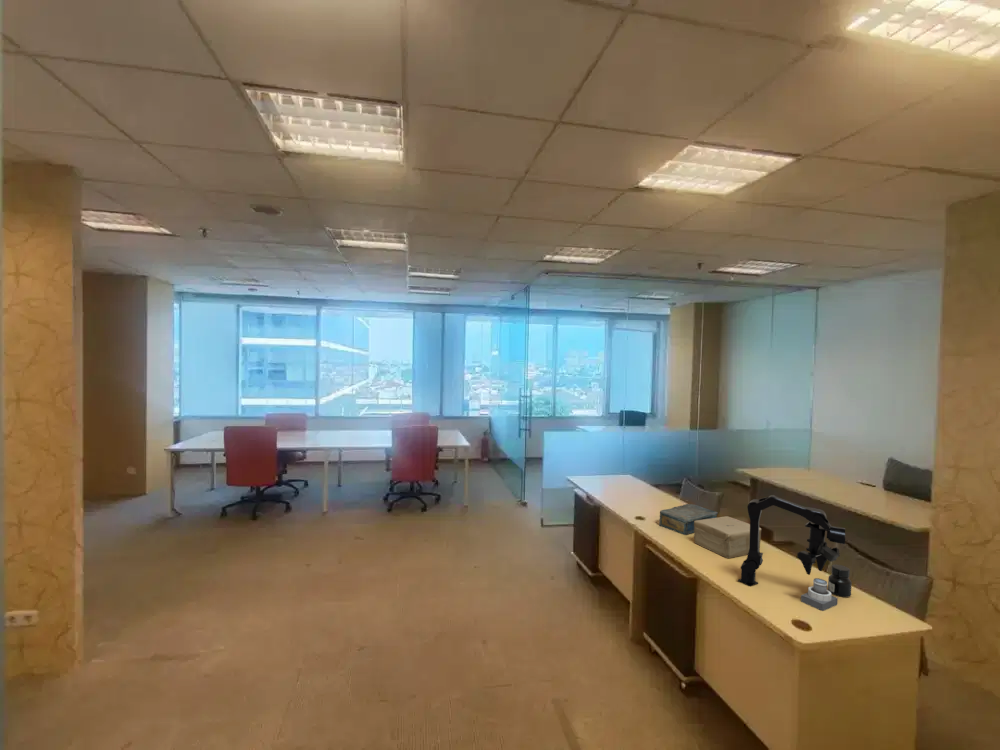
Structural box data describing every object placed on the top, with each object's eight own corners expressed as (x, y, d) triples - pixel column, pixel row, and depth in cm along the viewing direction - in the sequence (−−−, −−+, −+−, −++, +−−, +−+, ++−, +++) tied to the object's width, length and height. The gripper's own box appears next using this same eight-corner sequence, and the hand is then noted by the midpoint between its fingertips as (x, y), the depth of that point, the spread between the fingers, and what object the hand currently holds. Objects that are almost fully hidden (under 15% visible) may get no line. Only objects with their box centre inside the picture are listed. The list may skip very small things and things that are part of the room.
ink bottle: (829, 586, 235) (830, 561, 234) (851, 592, 229) (853, 567, 229) (826, 593, 227) (828, 568, 227) (849, 600, 222) (851, 573, 221)
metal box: (718, 527, 314) (719, 511, 314) (686, 536, 296) (687, 520, 296) (689, 517, 332) (689, 503, 331) (657, 525, 314) (658, 510, 313)
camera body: (822, 611, 211) (823, 598, 211) (800, 601, 219) (801, 589, 219) (837, 604, 217) (838, 592, 217) (815, 595, 225) (816, 583, 225)
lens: (822, 600, 214) (823, 584, 214) (809, 595, 219) (811, 579, 218) (828, 597, 217) (829, 581, 217) (816, 592, 221) (817, 576, 221)
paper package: (724, 537, 297) (726, 514, 296) (763, 553, 274) (764, 528, 273) (690, 542, 286) (692, 519, 285) (727, 560, 263) (729, 534, 262)
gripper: (824, 548, 209) (821, 584, 209) (848, 541, 218) (845, 576, 218) (797, 538, 218) (795, 573, 219) (821, 533, 227) (818, 566, 228)
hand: (814, 572), depth 221 cm, fingers open, 9 cm apart
